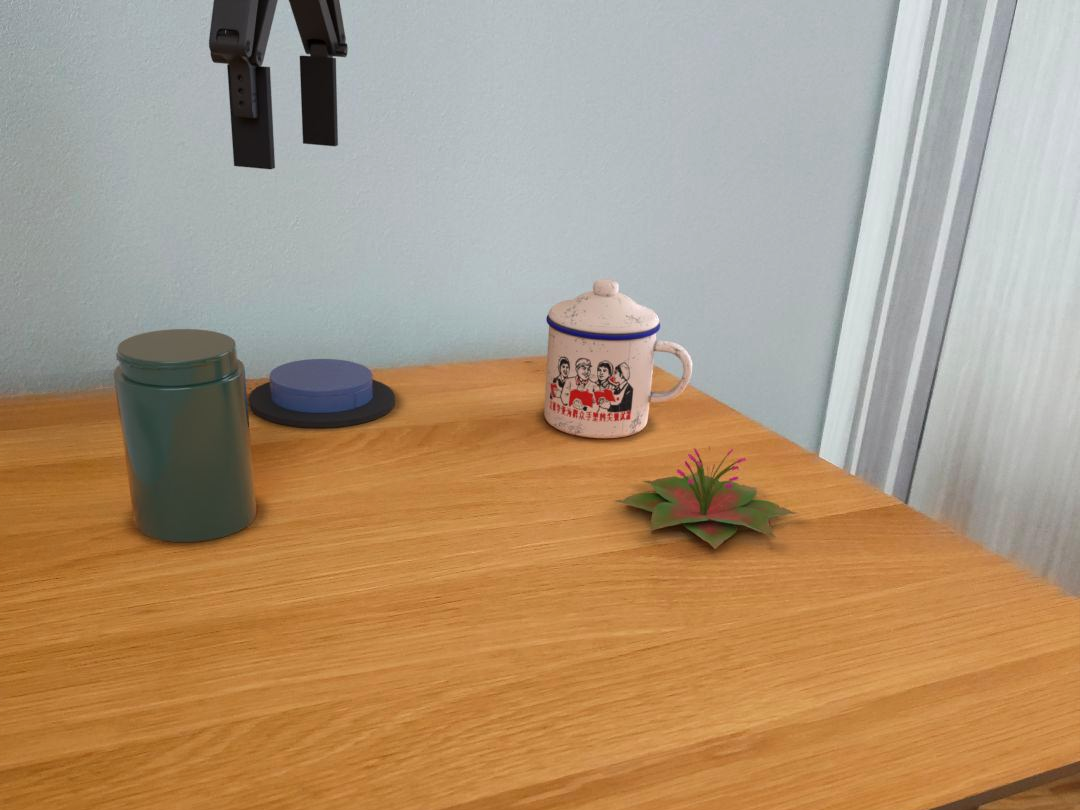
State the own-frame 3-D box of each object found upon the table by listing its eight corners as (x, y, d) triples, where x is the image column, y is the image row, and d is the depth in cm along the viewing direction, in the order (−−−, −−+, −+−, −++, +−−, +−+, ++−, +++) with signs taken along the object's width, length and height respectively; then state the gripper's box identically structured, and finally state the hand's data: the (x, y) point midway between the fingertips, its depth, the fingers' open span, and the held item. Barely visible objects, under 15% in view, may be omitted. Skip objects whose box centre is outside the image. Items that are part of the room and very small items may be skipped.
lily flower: (581, 508, 73) (585, 446, 71) (694, 467, 80) (701, 410, 78) (717, 575, 65) (726, 508, 63) (828, 523, 73) (839, 462, 71)
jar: (110, 516, 68) (84, 342, 63) (210, 482, 74) (194, 320, 69) (179, 554, 64) (157, 372, 59) (280, 516, 70) (268, 346, 64)
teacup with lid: (529, 432, 85) (536, 288, 80) (553, 397, 93) (561, 263, 88) (678, 452, 83) (695, 305, 78) (690, 414, 91) (706, 278, 86)
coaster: (219, 401, 88) (218, 394, 88) (330, 370, 97) (330, 364, 96) (314, 440, 82) (313, 432, 81) (424, 403, 90) (424, 396, 90)
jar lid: (394, 396, 89) (393, 375, 89) (316, 421, 84) (315, 398, 83) (327, 373, 94) (326, 352, 93) (250, 394, 88) (248, 372, 87)
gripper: (255, -213, 59) (275, 183, 69) (383, -154, 81) (385, 140, 91) (128, -219, 60) (165, 173, 70) (289, -159, 82) (300, 133, 92)
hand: (290, 155), depth 80 cm, fingers open, 13 cm apart
